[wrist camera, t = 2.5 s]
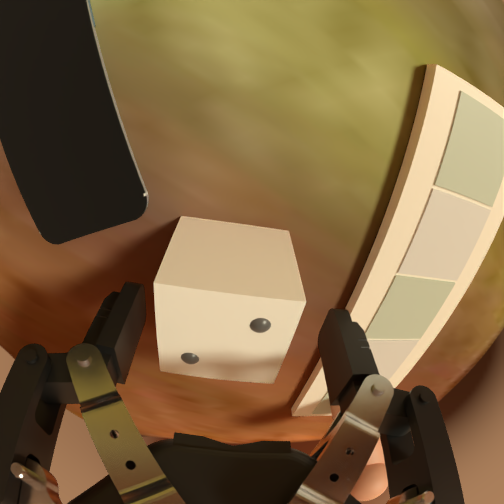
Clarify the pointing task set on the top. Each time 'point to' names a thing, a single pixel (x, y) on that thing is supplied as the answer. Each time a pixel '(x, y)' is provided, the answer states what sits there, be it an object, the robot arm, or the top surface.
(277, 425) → the top surface
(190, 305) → the die
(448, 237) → the board
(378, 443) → the pawn
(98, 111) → the smartphone
